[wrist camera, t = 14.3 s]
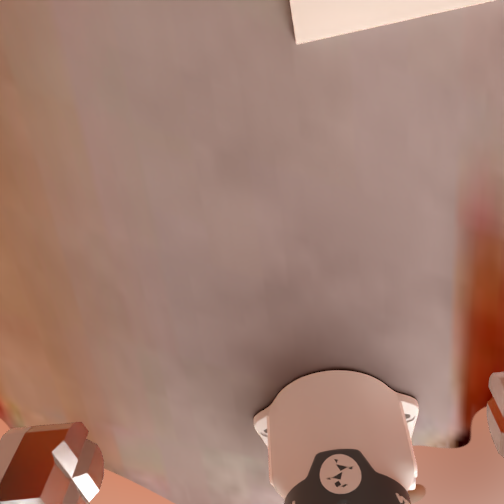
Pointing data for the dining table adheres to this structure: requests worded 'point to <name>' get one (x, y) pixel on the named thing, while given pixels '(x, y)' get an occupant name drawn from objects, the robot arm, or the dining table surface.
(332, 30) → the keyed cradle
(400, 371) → the dining table surface
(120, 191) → the dining table surface
